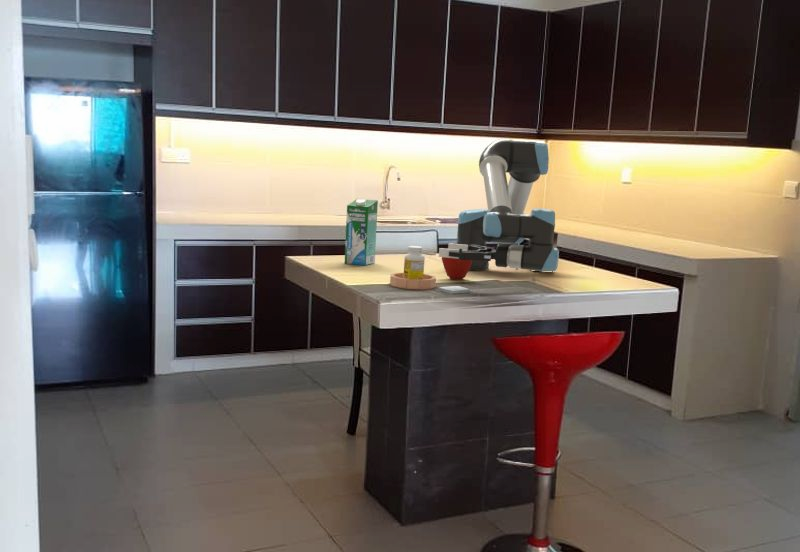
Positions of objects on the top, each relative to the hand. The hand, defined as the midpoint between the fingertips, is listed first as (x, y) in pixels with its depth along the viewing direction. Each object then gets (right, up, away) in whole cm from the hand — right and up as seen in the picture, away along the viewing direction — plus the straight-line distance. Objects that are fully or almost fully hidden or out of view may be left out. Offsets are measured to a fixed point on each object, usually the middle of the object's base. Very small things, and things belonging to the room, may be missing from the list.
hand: (443, 249), depth 251 cm
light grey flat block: (+3, -13, -2) cm, 14 cm away
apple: (+6, -10, +24) cm, 27 cm away
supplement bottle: (-10, -12, +5) cm, 16 cm away
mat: (+3, -14, -2) cm, 15 cm away
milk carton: (-30, -4, +53) cm, 61 cm away
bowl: (-10, -12, +5) cm, 17 cm away
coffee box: (+42, -7, +58) cm, 72 cm away
